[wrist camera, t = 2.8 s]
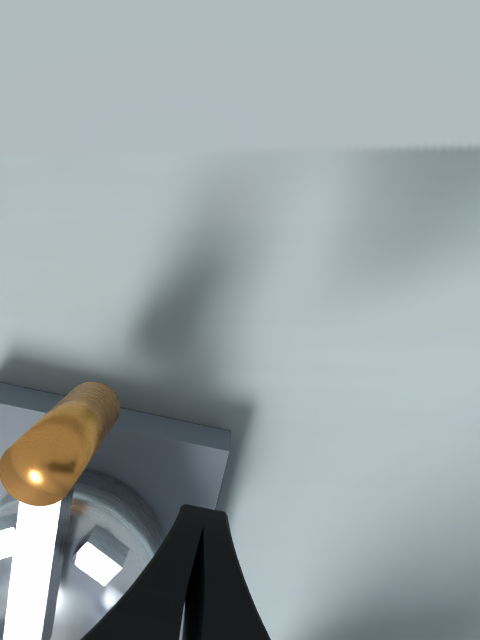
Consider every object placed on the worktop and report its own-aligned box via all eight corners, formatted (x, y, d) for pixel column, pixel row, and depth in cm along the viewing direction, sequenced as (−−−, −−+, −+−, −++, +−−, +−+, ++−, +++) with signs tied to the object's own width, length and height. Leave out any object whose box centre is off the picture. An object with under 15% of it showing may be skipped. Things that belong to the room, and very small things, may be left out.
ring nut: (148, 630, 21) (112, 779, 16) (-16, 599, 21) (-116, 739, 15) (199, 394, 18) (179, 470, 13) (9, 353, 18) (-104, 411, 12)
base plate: (230, 431, 21) (229, 451, 19) (181, 632, 24) (176, 667, 22) (-10, 380, 21) (-36, 395, 19) (-29, 592, 24) (-54, 624, 22)
